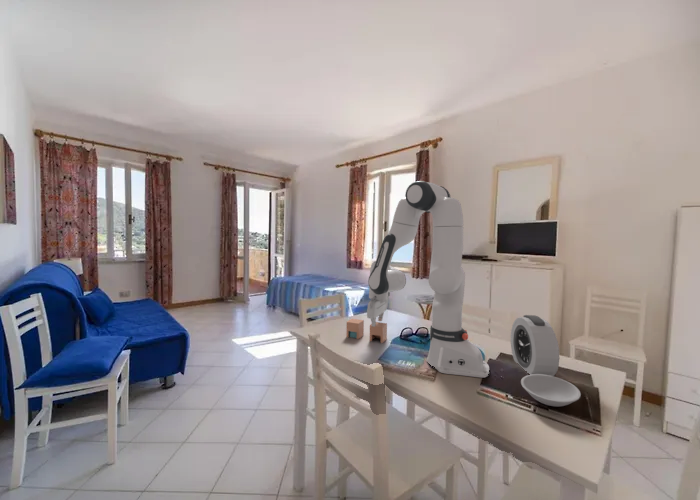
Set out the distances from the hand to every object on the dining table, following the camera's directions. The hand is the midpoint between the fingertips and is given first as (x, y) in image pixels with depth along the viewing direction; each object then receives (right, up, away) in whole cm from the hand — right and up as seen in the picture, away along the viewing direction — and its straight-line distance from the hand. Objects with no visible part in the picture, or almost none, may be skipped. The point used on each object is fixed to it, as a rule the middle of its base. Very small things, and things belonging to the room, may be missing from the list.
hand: (377, 323), depth 138 cm
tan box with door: (-10, -8, +5) cm, 14 cm away
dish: (+46, -11, -52) cm, 70 cm away
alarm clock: (+56, -10, -29) cm, 63 cm away
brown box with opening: (0, -8, 0) cm, 8 cm away
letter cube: (-10, -8, +5) cm, 14 cm away
